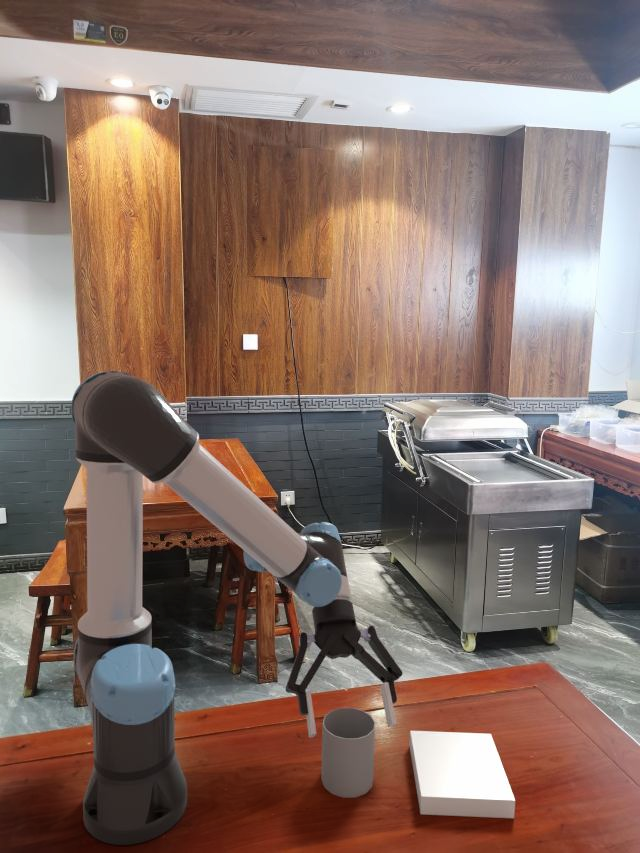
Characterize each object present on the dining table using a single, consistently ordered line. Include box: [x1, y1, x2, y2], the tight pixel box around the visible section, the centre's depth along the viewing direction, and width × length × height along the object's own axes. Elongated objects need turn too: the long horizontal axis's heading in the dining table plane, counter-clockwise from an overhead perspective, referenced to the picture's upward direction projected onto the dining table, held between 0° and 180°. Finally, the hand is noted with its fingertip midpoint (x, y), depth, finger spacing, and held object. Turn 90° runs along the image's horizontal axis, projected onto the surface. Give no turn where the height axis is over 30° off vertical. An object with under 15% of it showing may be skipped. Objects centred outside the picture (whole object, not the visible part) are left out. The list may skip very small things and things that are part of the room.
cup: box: [320, 707, 376, 799], centre depth 104 cm, size 8×8×10 cm
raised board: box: [409, 730, 516, 819], centre depth 105 cm, size 14×16×3 cm
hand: (353, 730), depth 106 cm, fingers open, 13 cm apart
